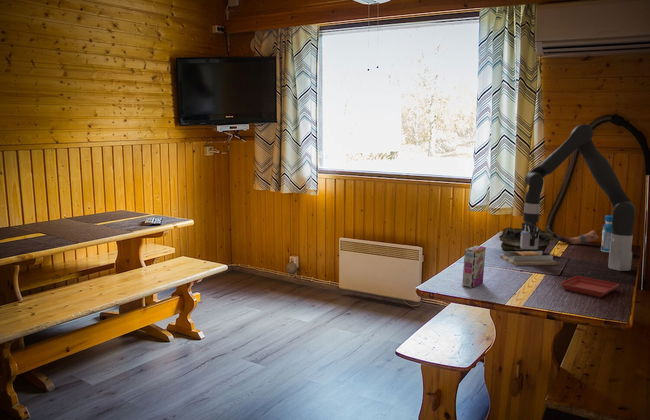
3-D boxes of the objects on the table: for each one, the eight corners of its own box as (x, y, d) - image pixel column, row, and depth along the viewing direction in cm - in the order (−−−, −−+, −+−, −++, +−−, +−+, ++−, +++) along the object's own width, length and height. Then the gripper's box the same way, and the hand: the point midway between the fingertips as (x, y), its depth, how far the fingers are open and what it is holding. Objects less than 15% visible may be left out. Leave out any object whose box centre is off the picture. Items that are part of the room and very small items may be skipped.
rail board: (556, 264, 278) (556, 261, 278) (515, 265, 275) (515, 262, 275) (539, 257, 294) (539, 254, 294) (500, 257, 290) (500, 255, 290)
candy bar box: (472, 288, 235) (475, 251, 233) (461, 286, 238) (464, 249, 236) (483, 283, 244) (486, 246, 241) (473, 281, 247) (475, 244, 244)
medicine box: (535, 247, 285) (536, 231, 284) (537, 249, 281) (539, 233, 279) (519, 247, 286) (520, 230, 285) (521, 249, 282) (523, 232, 280)
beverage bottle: (608, 253, 305) (611, 217, 302) (596, 249, 313) (600, 214, 310) (620, 252, 307) (624, 217, 304) (609, 249, 315) (612, 214, 312)
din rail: (552, 260, 281) (553, 255, 280) (513, 261, 277) (514, 256, 277) (541, 255, 291) (541, 250, 291) (503, 256, 288) (504, 251, 287)
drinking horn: (598, 246, 323) (600, 229, 321) (545, 243, 328) (547, 226, 327) (596, 244, 328) (598, 227, 326) (544, 241, 334) (545, 225, 332)
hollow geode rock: (551, 263, 301) (554, 240, 308) (551, 250, 291) (555, 227, 299) (497, 255, 313) (502, 233, 320) (496, 243, 303) (501, 220, 311)
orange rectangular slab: (540, 255, 281) (540, 254, 281) (523, 256, 280) (523, 255, 280) (532, 252, 288) (532, 251, 288) (516, 252, 286) (516, 251, 286)
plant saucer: (558, 290, 237) (559, 282, 236) (575, 282, 249) (576, 275, 249) (603, 300, 224) (604, 292, 224) (619, 291, 237) (619, 283, 236)
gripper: (546, 214, 274) (543, 248, 277) (531, 209, 288) (528, 241, 291) (532, 214, 273) (529, 248, 276) (517, 209, 287) (515, 242, 290)
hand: (529, 244), depth 283 cm, fingers closed on medicine box, 5 cm apart
